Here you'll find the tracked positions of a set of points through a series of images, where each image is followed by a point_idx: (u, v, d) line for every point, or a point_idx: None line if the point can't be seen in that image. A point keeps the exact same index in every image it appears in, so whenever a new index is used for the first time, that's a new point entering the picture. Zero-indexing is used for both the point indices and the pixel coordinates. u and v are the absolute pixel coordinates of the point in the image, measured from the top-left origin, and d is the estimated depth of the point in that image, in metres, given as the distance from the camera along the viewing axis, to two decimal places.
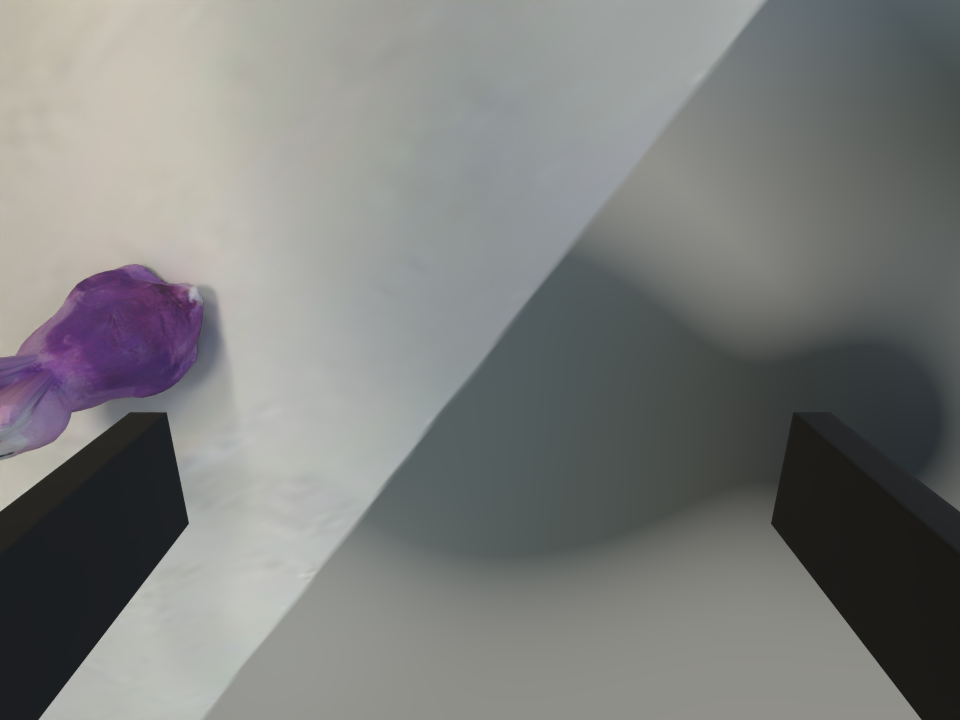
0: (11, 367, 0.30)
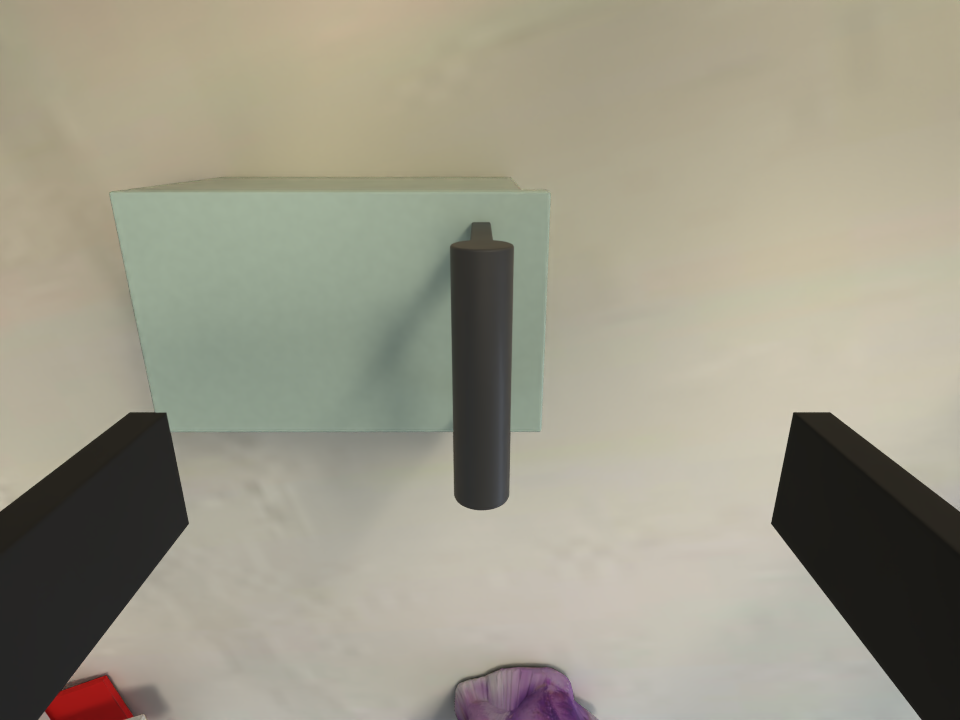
0: None
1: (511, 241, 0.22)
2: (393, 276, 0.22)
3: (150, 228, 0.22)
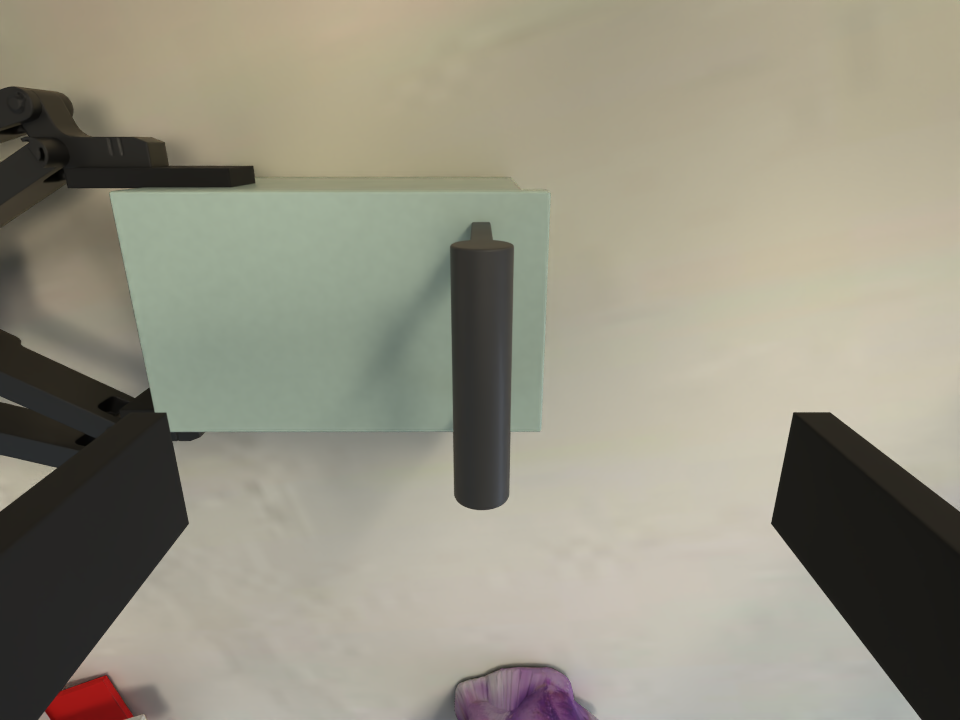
0: None
1: (511, 241, 0.22)
2: (393, 276, 0.22)
3: (150, 227, 0.22)
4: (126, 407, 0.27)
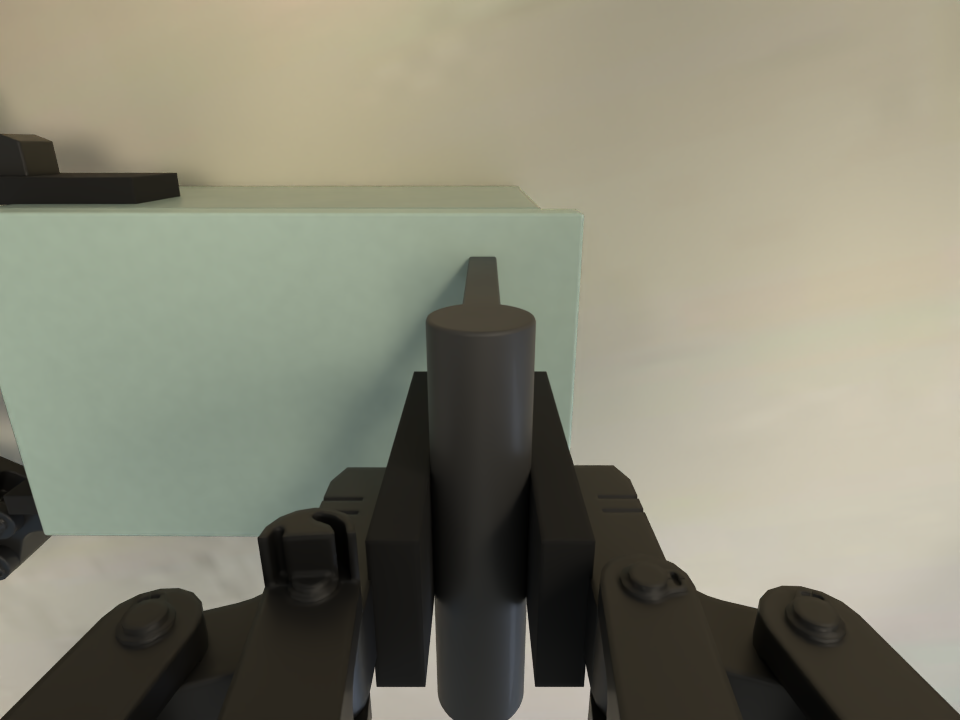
0: None
1: (526, 283, 0.15)
2: (358, 331, 0.16)
3: (9, 263, 0.15)
4: (13, 491, 0.20)
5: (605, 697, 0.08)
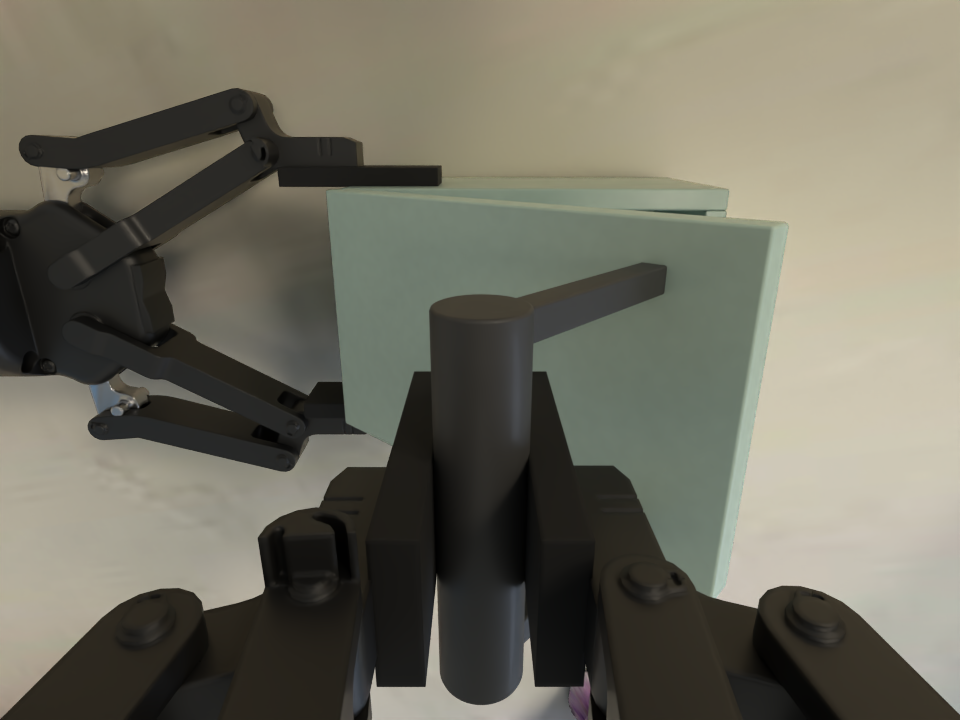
0: None
1: (696, 300, 0.14)
2: None
3: (347, 227, 0.22)
4: (309, 401, 0.28)
5: (605, 697, 0.08)
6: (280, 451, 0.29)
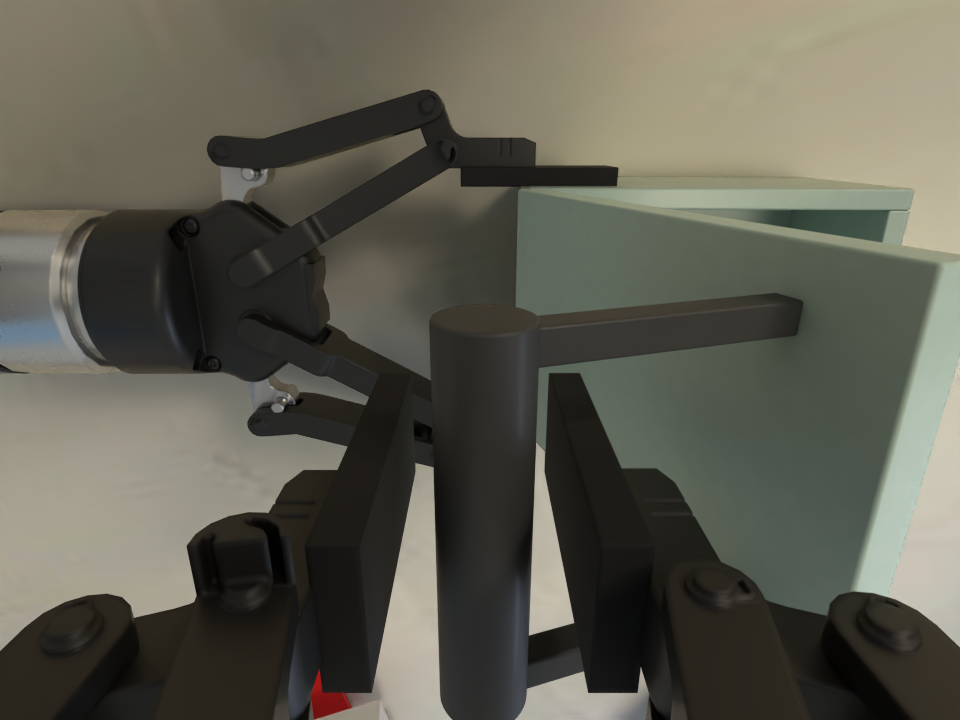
0: None
1: (832, 350, 0.10)
2: None
3: (529, 227, 0.22)
4: None
5: (666, 701, 0.08)
6: None
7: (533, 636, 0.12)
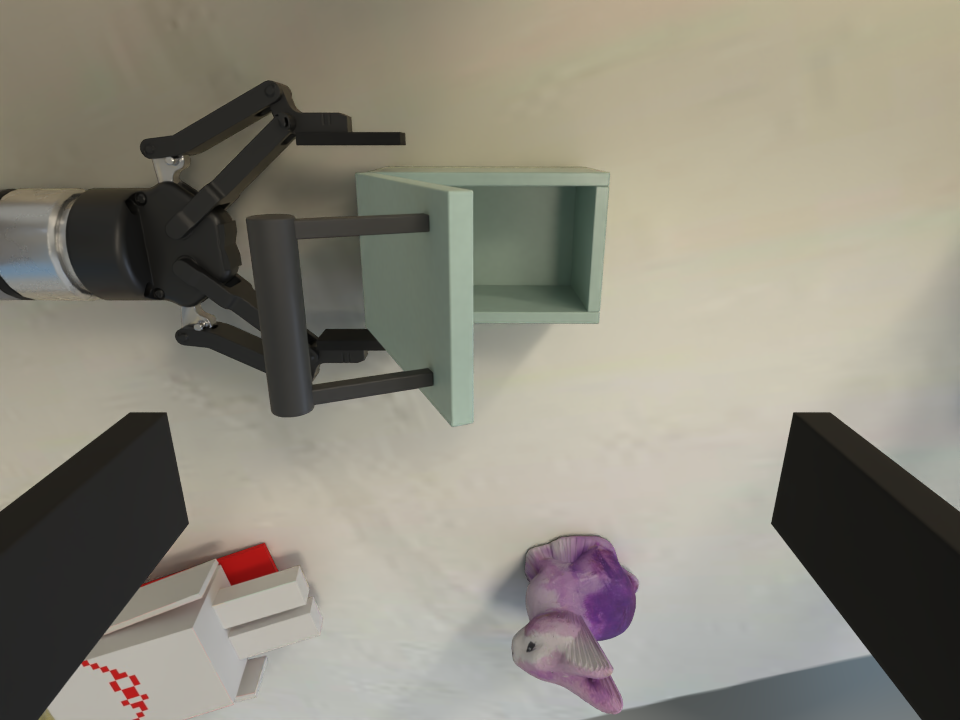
0: None
1: (435, 234, 0.24)
2: (405, 250, 0.28)
3: (361, 196, 0.35)
4: (320, 339, 0.41)
5: None
6: None
7: None
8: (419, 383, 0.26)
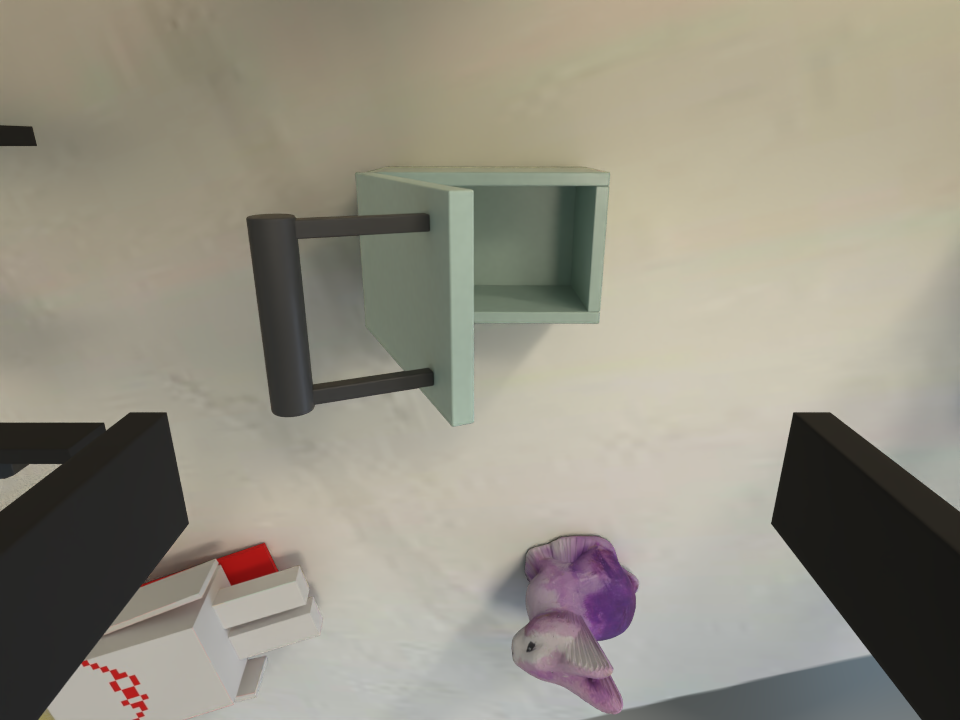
0: None
1: (436, 234, 0.24)
2: (406, 250, 0.28)
3: (361, 196, 0.35)
4: None
5: None
6: None
7: None
8: (419, 383, 0.26)
